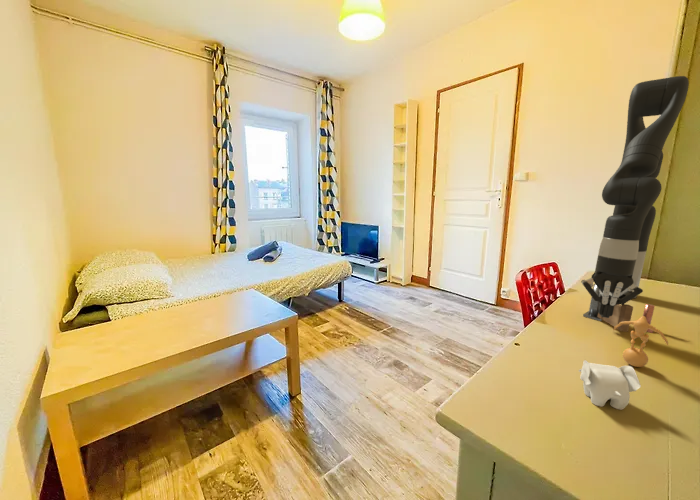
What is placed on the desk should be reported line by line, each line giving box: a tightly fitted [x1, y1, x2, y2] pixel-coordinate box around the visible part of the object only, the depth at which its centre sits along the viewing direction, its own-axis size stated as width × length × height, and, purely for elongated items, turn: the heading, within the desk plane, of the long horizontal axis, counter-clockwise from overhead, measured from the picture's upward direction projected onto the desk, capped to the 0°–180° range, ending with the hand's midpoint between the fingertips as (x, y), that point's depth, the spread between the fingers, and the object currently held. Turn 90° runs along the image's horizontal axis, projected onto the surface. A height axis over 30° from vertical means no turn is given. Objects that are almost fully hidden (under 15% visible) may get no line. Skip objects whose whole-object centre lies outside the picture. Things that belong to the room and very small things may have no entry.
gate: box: [597, 303, 634, 333], centre depth 81 cm, size 9×2×7 cm, turn 172°
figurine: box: [612, 315, 669, 368], centre depth 62 cm, size 8×6×12 cm
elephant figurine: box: [578, 359, 642, 411], centre depth 53 cm, size 8×10×7 cm
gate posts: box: [583, 283, 656, 334], centre depth 84 cm, size 6×15×10 cm, turn 36°
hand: (604, 316), depth 80 cm, fingers closed
